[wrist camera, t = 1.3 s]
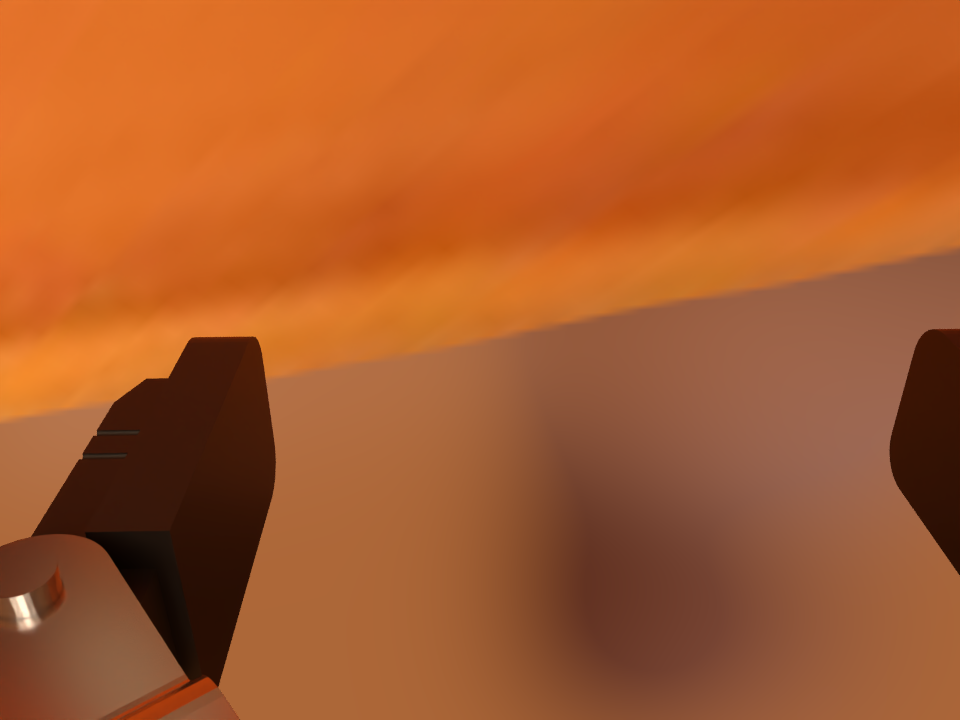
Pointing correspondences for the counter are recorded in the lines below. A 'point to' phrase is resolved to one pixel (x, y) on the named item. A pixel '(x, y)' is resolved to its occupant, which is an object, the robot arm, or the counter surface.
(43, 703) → the robot arm
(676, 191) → the counter surface
